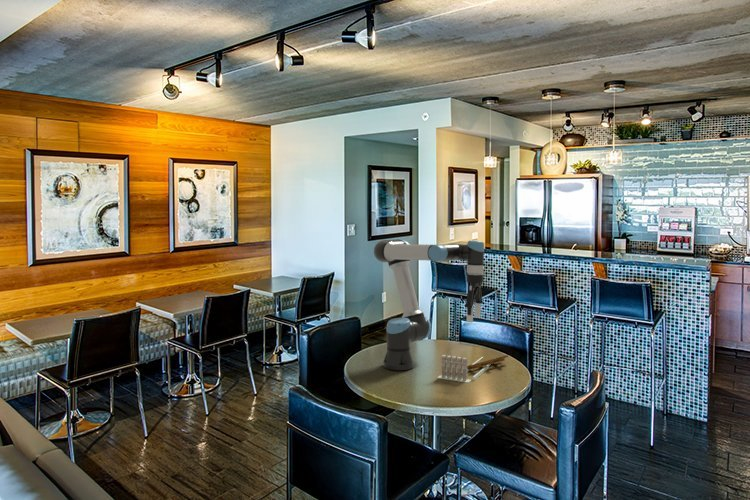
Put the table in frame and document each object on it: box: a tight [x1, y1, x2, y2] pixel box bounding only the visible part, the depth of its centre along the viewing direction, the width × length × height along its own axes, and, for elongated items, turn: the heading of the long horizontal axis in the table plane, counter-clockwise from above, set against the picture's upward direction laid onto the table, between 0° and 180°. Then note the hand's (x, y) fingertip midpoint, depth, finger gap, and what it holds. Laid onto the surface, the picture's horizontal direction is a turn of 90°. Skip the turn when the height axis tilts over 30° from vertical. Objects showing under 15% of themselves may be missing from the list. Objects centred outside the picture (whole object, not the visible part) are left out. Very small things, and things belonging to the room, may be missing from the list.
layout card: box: [436, 374, 472, 384], centre depth 227 cm, size 15×4×1 cm, turn 61°
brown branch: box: [467, 354, 509, 371], centre depth 245 cm, size 25×2×10 cm
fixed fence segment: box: [441, 354, 468, 381], centre depth 228 cm, size 2×12×10 cm, turn 61°
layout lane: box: [467, 356, 492, 381], centre depth 243 cm, size 8×37×2 cm, turn 151°
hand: (473, 319), depth 232 cm, fingers open, 13 cm apart
